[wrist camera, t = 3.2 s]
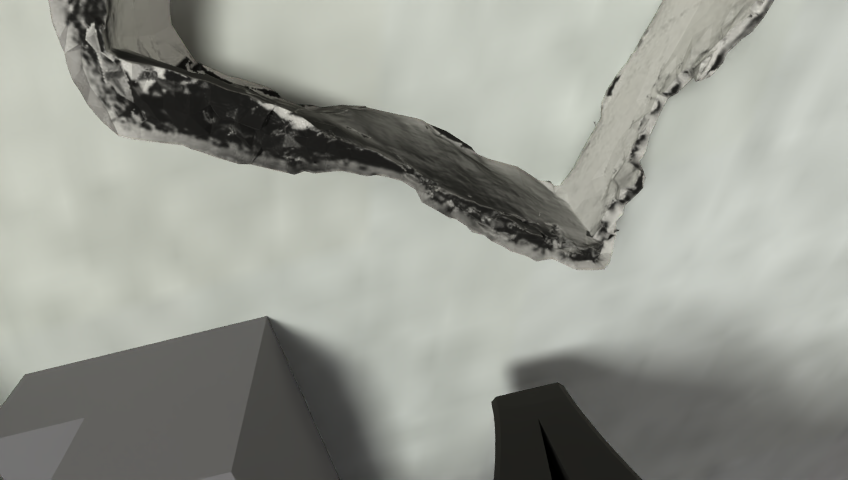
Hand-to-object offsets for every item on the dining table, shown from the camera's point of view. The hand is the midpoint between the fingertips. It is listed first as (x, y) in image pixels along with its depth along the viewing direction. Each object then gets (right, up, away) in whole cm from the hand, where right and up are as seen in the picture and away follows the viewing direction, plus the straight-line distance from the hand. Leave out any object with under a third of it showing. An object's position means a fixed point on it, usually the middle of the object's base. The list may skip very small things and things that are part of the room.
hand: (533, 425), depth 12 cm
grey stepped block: (-7, -1, +2) cm, 7 cm away
